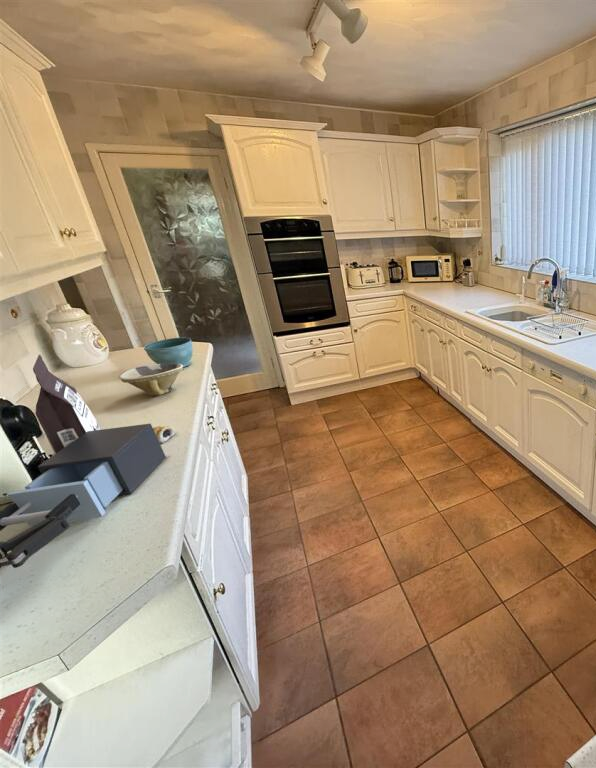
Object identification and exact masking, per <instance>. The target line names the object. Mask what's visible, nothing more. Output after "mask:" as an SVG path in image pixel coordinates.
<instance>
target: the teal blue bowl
mask: <svg viewBox="0 0 596 768" xmlns="http://www.w3.org/2000/svg"><path fill="white" fill-rule="evenodd" d="M143 349H144V351H145V352H146V355H147V356H148V358H150V359H151V360H152V362H153V363H154V364H162V363H176V364H182V365H183V368H185V367H188V366H190V364H191V360H192V357H193V355H194V347H193V343H192V339H191V338H190V337H172V338H171V337H170V338H165V339H161V340H156V341H153V342H149V343H147V344H146V345H144V346H143Z"/></svg>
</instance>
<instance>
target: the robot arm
mask: <svg viewBox="0 0 596 768" xmlns="http://www.w3.org/2000/svg"><path fill="white" fill-rule="evenodd" d="M79 505H80V502H79V501H78V499H77V497H76V496H75V494H71V495H69V496H68V497H67V498H65V499H64V500H63V501H62V502H61V503H60V504H59V505H57V506H56V507H55V508H54V509H53V510H52V511H50V512H49V513H48V514H47V515H46V516H45V517H46V519H45V520H43V521H41V522H40V523H38V524H36V525H34V526H32V527H31V528H30V527H29V528H27V529H25V530H23V531H21V532H20V533H18V534H17V535H15V536H13V537H11V538H9V539H8V540H5V541H0V551H1V552H2V553H3V554H2V553H1V552H0V569H2V568H5V567H7V566H12V568H14V569H17V568H20V567H21V566H23V565H25V563H26V562H27V561H28V560H29V559H30V557H32V556H33V555H34V554H36V553H37V552H38V551H40V550H41V549H42V548H44V547H45V546H47V545H49V543H51V542H52V541H54V540H55V539H56V538H58V537H59V536H60V535H62V534H63V533H64V532H65V531H67V530H68V529H70V528H71V526H70V525H71V524H69V522H67V520H66V518H68V517H69V516H70V515H71V514H72V512H73V511H74V510H75V509H76V508H77V507H78V506H79ZM18 509H19V507H18V506H17V504H16V503H13V502H12V503H10V504H8V505H7V506H6V507H4V508H3V509H2V510H0V520H1V519H2V518H4V517H9V516H11V515H12V514H13V513H15V512H16V511H17V510H18ZM19 515H22V513H20V514H19ZM5 528H7V526H1V525H0V532H2V530H4V529H5Z"/></svg>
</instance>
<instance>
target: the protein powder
mask: <svg viewBox="0 0 596 768" xmlns="http://www.w3.org/2000/svg"><path fill="white" fill-rule="evenodd" d="M32 372H33V373H34V375H35V379H36V381H37V383H38V385H39V387H40V389H39V394H38V398H37V401H36V404H35V416H36V419H37V420H38V422H39V424H40V426H41V428H42V429H43V431H44V435H45V436H46V439H47V441H48V444H49V445H50V448H51V450H52V451H53V455H55V454H56V453H57V452H59V451H60V450H62V449H63V448H65V447H66V446H67V445H69V444H70V443H72V442H73V441H75V440H76V439H77V438H79V437H80V436H82V435H83V434H85V433H86V432H87V431H95V430H102V428H101V426H100V425H99V422H98V421H97V419H96V418H95V416H94V414H93V413H92V411H91V409H90V408H89V406H88V405H87V404H86V402H85V401H84V399H83V398H82V396H81V395H80V394H79V393H78V390H77V388H75V387H74V386H72V385H70V384H69V383H68V382H66V381H65V380H63V379H61V378H60V377H57V375H55V374H53V373H52V372H51V371H49V368H48V367H47V364H46V363H45V361H44V360H43V357H42V355H41V354H38V356H37V358H36V360H35V363H34V365H33V367H32Z"/></svg>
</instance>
